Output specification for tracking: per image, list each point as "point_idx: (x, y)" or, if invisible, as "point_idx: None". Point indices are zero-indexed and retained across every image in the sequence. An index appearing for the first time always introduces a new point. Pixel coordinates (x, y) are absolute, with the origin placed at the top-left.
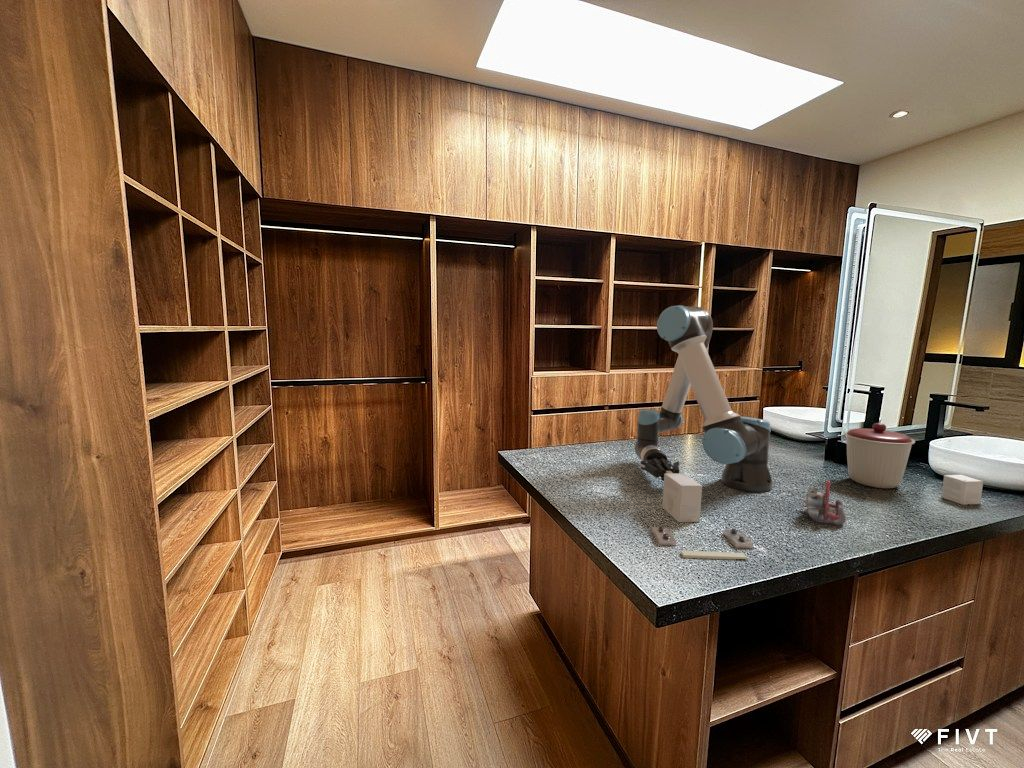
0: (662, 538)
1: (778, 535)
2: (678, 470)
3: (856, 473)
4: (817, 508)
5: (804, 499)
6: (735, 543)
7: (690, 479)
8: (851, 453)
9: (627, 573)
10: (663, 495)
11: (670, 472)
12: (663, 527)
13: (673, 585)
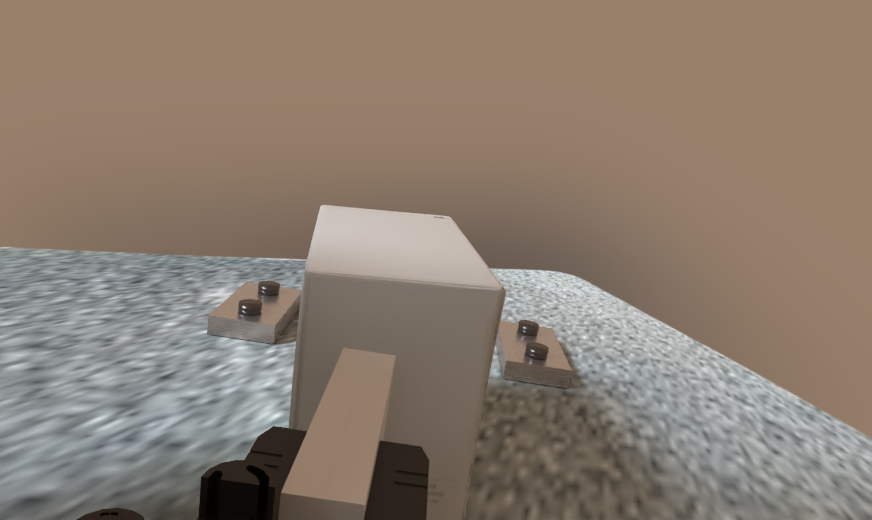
0: (540, 331)
1: (43, 311)
2: (102, 509)
3: None
4: None
5: None
6: (300, 296)
7: (339, 228)
8: None
9: (632, 307)
10: (471, 468)
11: (330, 448)
12: (529, 346)
13: (537, 282)
